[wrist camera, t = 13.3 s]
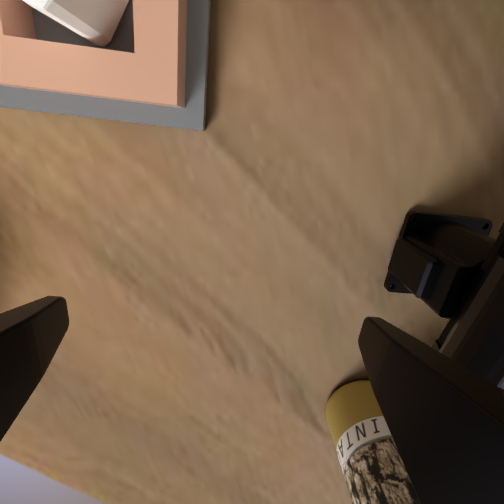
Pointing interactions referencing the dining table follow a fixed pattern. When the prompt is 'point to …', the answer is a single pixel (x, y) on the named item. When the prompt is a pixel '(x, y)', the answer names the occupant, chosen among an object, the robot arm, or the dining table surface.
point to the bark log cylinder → (367, 448)
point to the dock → (126, 46)
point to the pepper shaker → (85, 16)
